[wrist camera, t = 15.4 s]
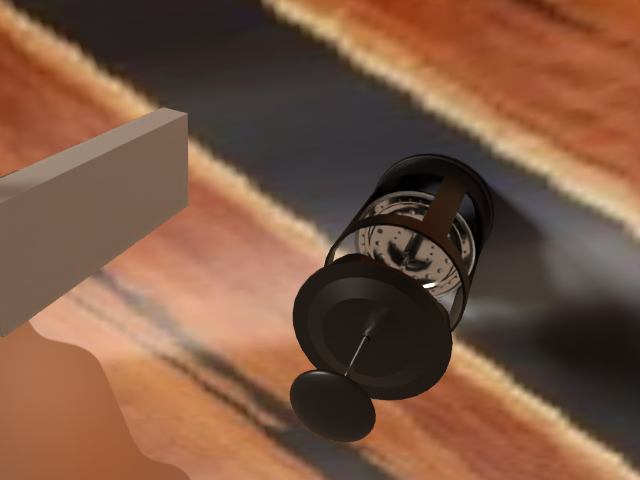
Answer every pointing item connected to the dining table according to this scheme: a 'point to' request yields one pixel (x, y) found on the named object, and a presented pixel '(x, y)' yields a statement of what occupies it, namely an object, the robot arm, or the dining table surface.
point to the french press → (388, 298)
